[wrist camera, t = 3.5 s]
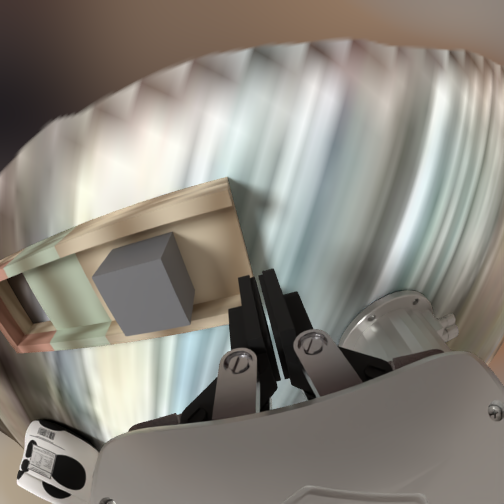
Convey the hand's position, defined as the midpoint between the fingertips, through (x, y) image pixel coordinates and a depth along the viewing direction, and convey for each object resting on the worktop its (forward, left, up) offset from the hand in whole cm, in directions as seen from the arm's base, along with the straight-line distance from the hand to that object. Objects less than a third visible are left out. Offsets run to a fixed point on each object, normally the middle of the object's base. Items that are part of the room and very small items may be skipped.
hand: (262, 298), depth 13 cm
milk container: (+48, +34, -9) cm, 59 cm away
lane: (+14, +1, -9) cm, 17 cm away
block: (+8, +1, -7) cm, 10 cm away
